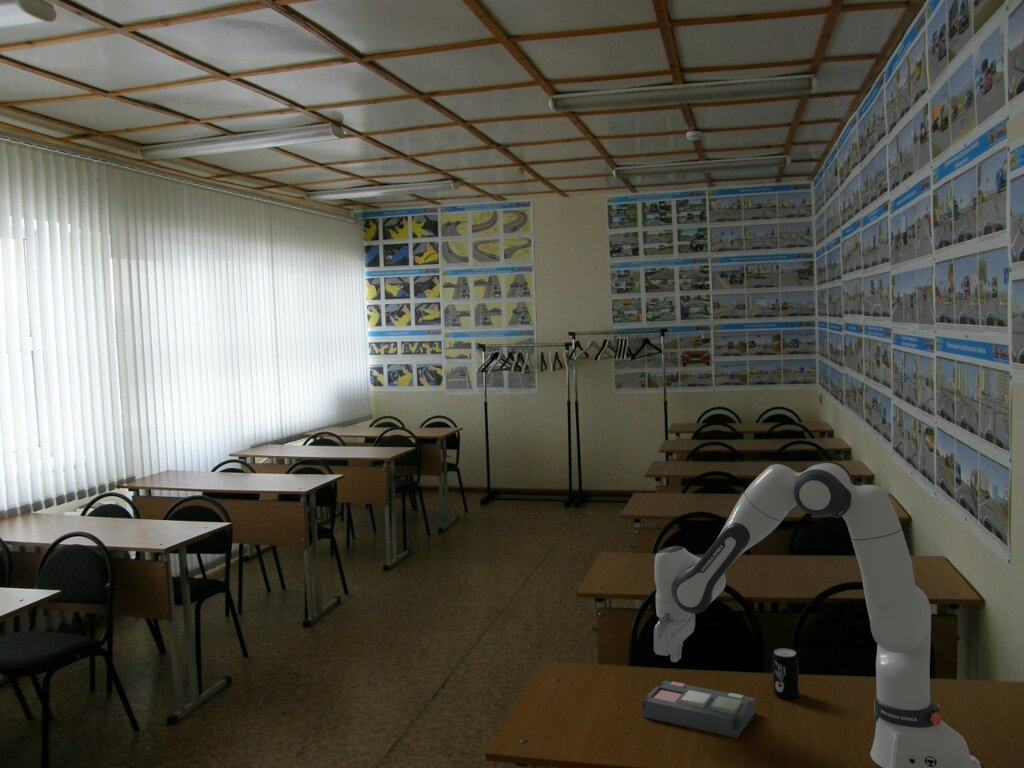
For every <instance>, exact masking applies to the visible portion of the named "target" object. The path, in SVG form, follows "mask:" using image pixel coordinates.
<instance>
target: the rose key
mask: <svg viewBox="0 0 1024 768" xmlns="http://www.w3.org/2000/svg"><path fill="white" fill-rule="evenodd" d="M681 695H682V694H679V693H674V692H669V691H664V690H660V691H659V692H658V693H657V694H656V695H655V696H654V697H653V698H656V699H661V700H666V701H671V702H675V701H676V700H677V699H678V698H679V697H680V696H681Z"/></svg>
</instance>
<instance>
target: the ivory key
mask: <svg viewBox="0 0 1024 768" xmlns="http://www.w3.org/2000/svg"><path fill="white" fill-rule="evenodd" d="M710 701H711V694H706V693H701V692H696V691H691V690H689V691H688V692H687V693H686V694H685V695H684V696H683V697H682V698H681V704H685V705H690V706H695V707H700V708H705V707H706V706H707V705H708V704H709V702H710Z"/></svg>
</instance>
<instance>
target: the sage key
mask: <svg viewBox="0 0 1024 768" xmlns="http://www.w3.org/2000/svg"><path fill="white" fill-rule="evenodd" d="M741 707H742V700H737V699H732V698H727V697H721V696H718V697H717V699H716V700H715V701H714V702H713V703H712V705H711V710H714V711H719V712H723V713H728V714H733V715H736V714H737V712H738V711H739V710H740V708H741Z"/></svg>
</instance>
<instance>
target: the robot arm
mask: <svg viewBox="0 0 1024 768" xmlns="http://www.w3.org/2000/svg"><path fill="white" fill-rule="evenodd" d="M853 483H854V482H853V478H852V475H851V473H850V471H849V470H848V469H847V467H845V466H844V465H843V464H841V463H838V462H835V461H828V460H827V461H822V462H821V461H820V462H818V463H815V464H813V465H810V466H807V467H804V468H801V470H800V471H799V472H797V471H795V470H793V468H791V467H790V466H787V465H785V464H781V463H780V464H778V463H776V464H771V465H769V466H767V468H766V469H764V470H763V471H762V472H761V473H760V474H759V475H758V476H756V478H755V479H754V480H753V481H752V482H751V483H750V484H748V487H747V488H746V489H745V491H743V493H742V494H741V496H740V498H738V501H736V504H735V505H734V507H733V509H732V511H731V512H730V515H729V516H728V518H727V520H726V522H725V524H724V526H723V528H722V529H721V531H720V533H719V535H718V536H717V538H716V540H714V542H713V543H712V544H711V546H710V547H709V548H708V549H707V551H706V552H705V553H704V554H703V556H702V557H699V556H696V555H695V554H693V553H691V552H689V551H688V550H687V548H685V547H683V546H680V545H672V546H668V547H664V548H662V549H660V550H658V552H657V553H656V555H655V557H654V568H653V569H654V570H653V571H654V576H653V577H654V583H655V586H656V587H655V588H656V593H655V609H656V617H657V618H659V619H658V622H656V624H655V626H654V629H653V651H654V653H655V655H658V656H665V657H668V656H669V655H670V661H671V662H672V663H678V661H680V660H681V659H682V649H683V642H684V641H685V640H686V639H687V638H688V637H689V636H690V635H692V633H694V632H695V628H696V627H695V626H696V615H697V614H701V613H703V612H705V611H706V610H707V608H708V607H709V606H710V605H711V604H712V602H713V601H715V600H716V599H717V597H718V596H719V595H720V594H721V593H722V592H723V591H724V589H725V588H726V586H727V576H726V572H727V571H728V569H730V566H731V565H732V564H733V563H734V562H735V561H736V560H737V559H738V558H739V557H740V556H741V555H742V554H743V553H745V552H746V551H747V550H749V549H751V548H752V547H753V546H755V545H756V544H758V543H759V542H761V541H762V540H763V539H765V538H766V537H767V536H769V535H770V534H771V533H772V532H773V531H774V530H775V529H777V527H778V526H779V525H780V524H781V523H782V522H783V520H784V519H785V518H786V517H787V515H788V513H789V512H790V511H791V510H792V509H793V508H794V507H796V506H798V507H799V508H800V509H801V511H802V512H805V513H807V514H809V515H812V516H817V517H829V518H837V519H838V518H841V517H842V518H843V520H844V521H845V523H846V526H847V530H848V533H849V536H850V539H851V543H852V546H853V549H854V552H855V553H854V554H855V556H856V560H857V562H858V566H859V570H860V575H861V580H862V587H863V593H864V598H865V604H866V605H865V606H866V608H867V609H866V610H867V613H868V618H869V623H870V625H869V626H870V632H871V634H872V638H873V639H874V641H875V642H876V644H877V647H876V648H877V649H876V657H875V675H876V676H875V678H876V679H875V680H876V681H875V683H876V694H875V696H874V701H873V705H874V707H873V709H874V718H875V722H876V723H875V731H874V732H875V733H874V737H873V738H874V739H873V743H872V746H871V747H872V748H871V750H870V757H871V759H872V761H873V762H874V763H875V764H876V765H878V766H879V767H881V768H982V764H981V763H980V760H979V759H977V757H975V756H974V755H971V754H970V749H969V745H968V743H967V741H966V739H965V738H964V737H963V735H961V734H960V733H959V732H957V731H956V730H955V729H954V728H952V727H951V726H950V725H948V724H947V723H946V722H944V721H943V720H942V715H941V713H942V711H941V705H940V703H939V702H937V704H935V703H934V702H933V701H931V684H930V683H931V681H930V679H931V678H930V677H931V676H930V674H931V673H930V669H931V668H930V666H931V665H930V663H931V643H932V642H931V639H932V637H931V631H932V609H931V604H930V601H929V598H928V595H927V594H926V593H925V592H924V591H923V590H922V588H920V587H919V586H917V585H916V581H915V575H914V567H913V561H912V557H911V555H910V550H909V549H908V544H907V542H906V541H907V540H906V537H905V534H904V531H903V528H902V525H901V522H900V520H899V517H898V515H897V512H896V509H895V507H894V504H893V503H892V501H891V499H890V497H889V496H888V493H887V492H886V491H885V490H884V489H883V488H882V487H881V486H878V485H874V484H862V485H856V484H853Z"/></svg>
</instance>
